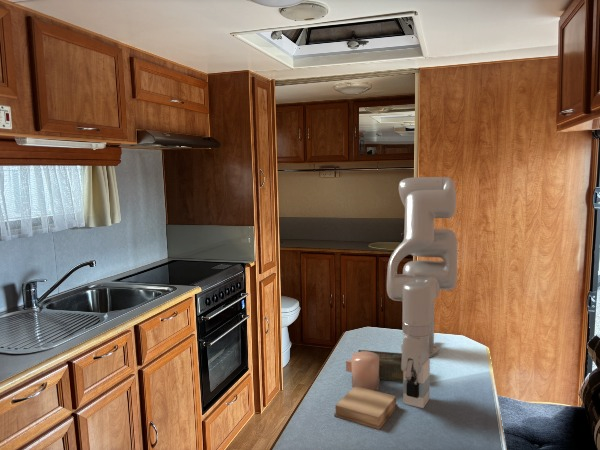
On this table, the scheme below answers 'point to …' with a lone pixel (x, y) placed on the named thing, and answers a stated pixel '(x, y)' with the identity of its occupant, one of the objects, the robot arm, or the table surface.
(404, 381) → the slim carton
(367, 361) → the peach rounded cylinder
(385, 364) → the beverage carton
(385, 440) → the table surface
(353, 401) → the plinth
